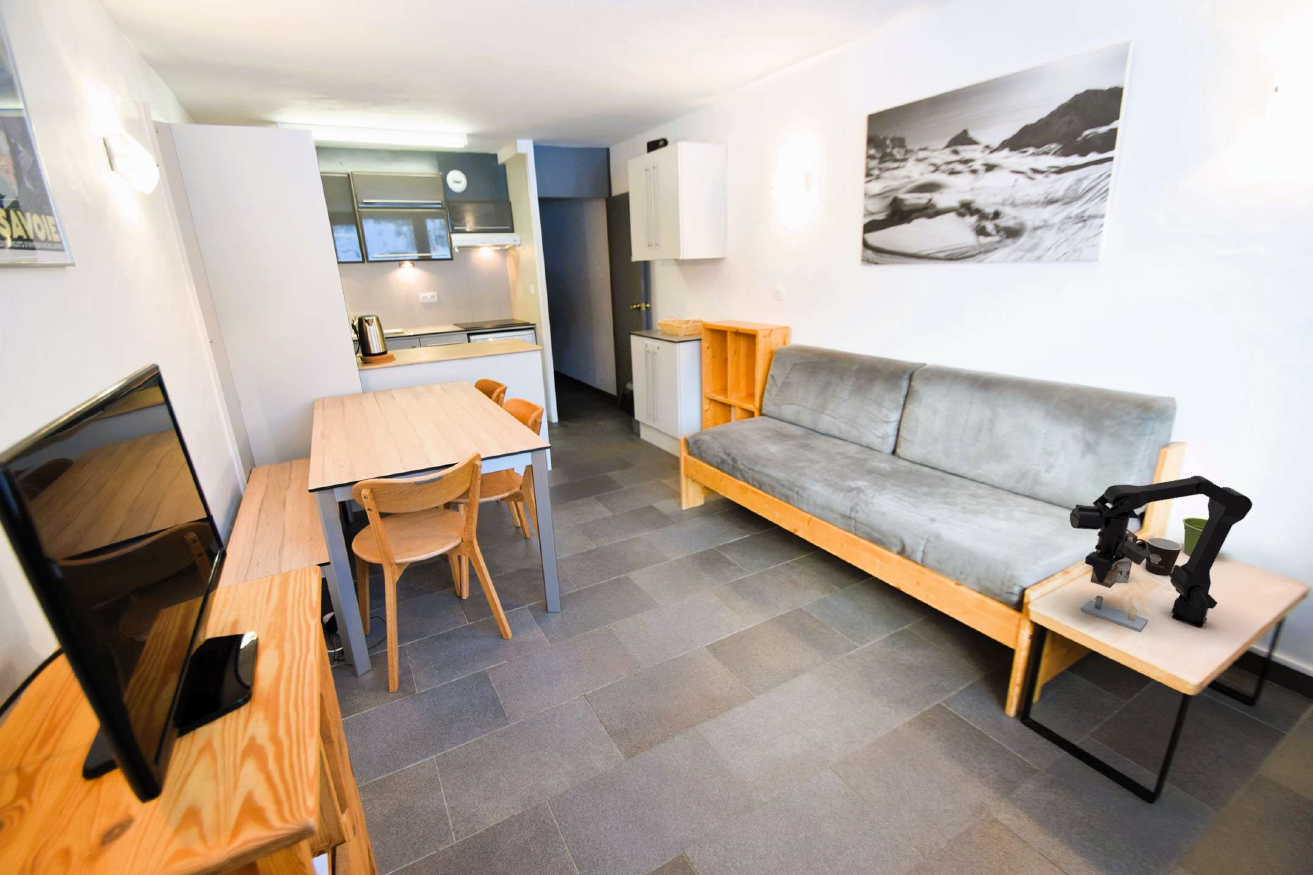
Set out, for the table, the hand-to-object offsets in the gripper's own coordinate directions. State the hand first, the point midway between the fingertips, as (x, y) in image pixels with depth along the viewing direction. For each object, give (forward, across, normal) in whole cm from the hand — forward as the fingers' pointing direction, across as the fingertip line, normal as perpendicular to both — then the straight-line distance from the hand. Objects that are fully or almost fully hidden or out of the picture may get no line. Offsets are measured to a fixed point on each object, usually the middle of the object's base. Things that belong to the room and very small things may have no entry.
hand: (1103, 579), depth 169 cm
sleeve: (+1, 0, 0) cm, 1 cm away
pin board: (+10, 0, -4) cm, 11 cm away
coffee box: (+11, +26, +4) cm, 28 cm away
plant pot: (+11, +63, -11) cm, 65 cm away
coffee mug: (+11, +41, -4) cm, 42 cm away
